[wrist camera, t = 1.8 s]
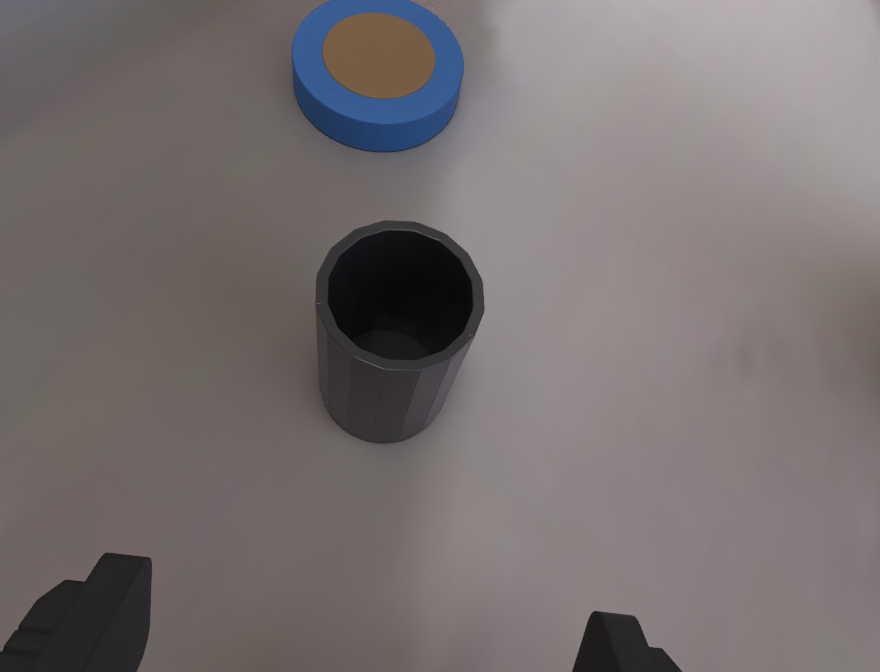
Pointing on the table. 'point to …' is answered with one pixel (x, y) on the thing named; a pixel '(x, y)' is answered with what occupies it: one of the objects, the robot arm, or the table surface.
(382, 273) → the bin
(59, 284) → the table surface
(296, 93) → the tape
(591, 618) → the robot arm
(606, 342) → the table surface
